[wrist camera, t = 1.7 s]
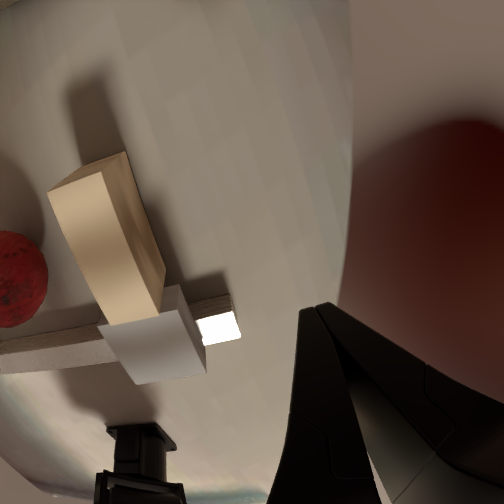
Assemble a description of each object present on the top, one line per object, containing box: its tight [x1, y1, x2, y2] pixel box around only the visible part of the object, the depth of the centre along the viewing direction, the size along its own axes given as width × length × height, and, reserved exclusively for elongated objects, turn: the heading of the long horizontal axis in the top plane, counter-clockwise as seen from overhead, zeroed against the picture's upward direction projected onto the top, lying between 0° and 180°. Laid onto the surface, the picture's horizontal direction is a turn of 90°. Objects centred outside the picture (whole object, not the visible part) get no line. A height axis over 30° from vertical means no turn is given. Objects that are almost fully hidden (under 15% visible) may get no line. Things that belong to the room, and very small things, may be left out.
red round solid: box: [0, 230, 48, 328], centre depth 15 cm, size 6×6×8 cm
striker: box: [47, 151, 207, 385], centre depth 17 cm, size 14×5×5 cm, turn 11°
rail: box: [0, 294, 240, 374], centre depth 21 cm, size 2×31×2 cm, turn 101°
